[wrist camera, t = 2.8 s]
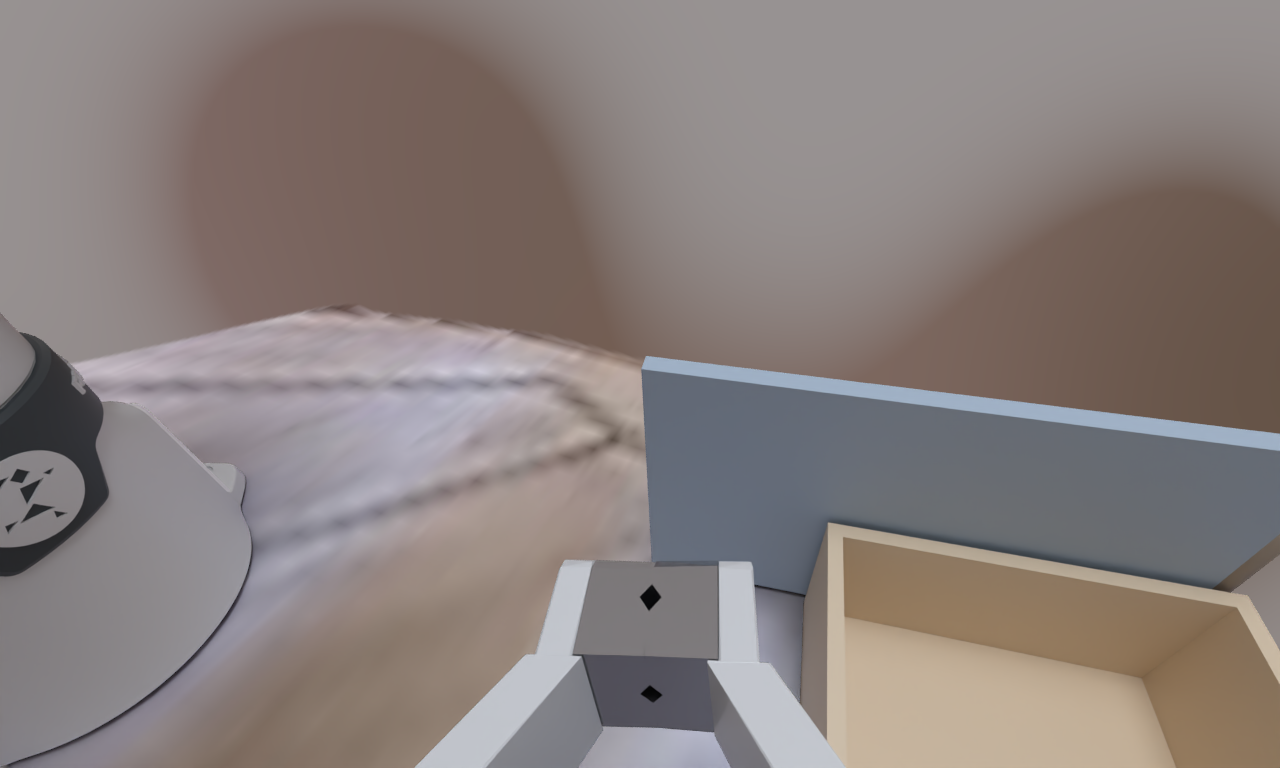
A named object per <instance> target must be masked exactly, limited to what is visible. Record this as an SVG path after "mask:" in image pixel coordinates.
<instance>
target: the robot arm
mask: <svg viewBox="0 0 1280 768" xmlns="http://www.w3.org/2000/svg"><path fill="white" fill-rule="evenodd" d="M83 380H84V379H83V377H82V376H81V375H80V374H79V372H78V371H77V370H76V369H75V368H74V367H73V366H72V365H71V364H70V363H69V362H68V361H67V360H66V359H64V358H63V357H62V356H60V355H58V354H56V353H55V352H54V351H53V350H52V349H51V348H50V347H49V346H48V345H46V343H44V342H43V341H42V340H40V339H39V338H37V337H35V336H32V335H29V334H26V333H21V332H18V331H17V330H16V329H15V328H14V327H13V326H12V325H11V324H10V323H9V321H8V320H7V319H6V318H5V317H4V316H3V315H2V314H1V313H0V767H2V766H5V765H7V764H10V763H12V762H15V761H18V760H21V759H24V758H27V757H30V756H33V755H36V754H38V753H41V752H44V751H47V750H50V749H53V748H55V747H58V746H60V745H63V744H65V743H67V742H69V741H72V740H74V739H76V738H78V737H80V736H82V735H84V734H86V733H88V732H90V731H92V730H94V729H96V728H98V727H99V726H101V725H103V724H105V723H106V722H108V721H110V720H111V719H113V718H115V717H116V716H118V715H120V714H121V713H123V712H124V711H126V710H127V709H129V708H130V707H132V706H133V705H135V704H136V703H137V702H139V701H140V700H141V699H143V698H144V697H146V696H147V695H148V694H150V693H151V692H152V691H153V690H155V689H156V688H157V687H158V686H160V685H161V684H162V683H163V682H164V681H166V680H167V679H168V678H169V677H170V676H171V675H173V674H174V673H175V672H176V671H177V670H178V669H179V668H180V667H181V666H182V665H183V664H184V663H185V662H186V661H187V660H188V659H189V658H190V657H191V656H192V655H193V654H194V653H195V652H196V651H197V650H198V649H199V648H200V647H201V646H202V645H203V643H204V642H205V641H206V640H207V639H208V638H209V636H210V635H211V634H212V633H213V631H214V630H215V629H216V628H217V626H218V625H219V624H220V622H221V621H222V619H223V618H224V617H225V615H226V614H227V612H228V610H229V609H230V607H231V606H232V604H233V602H234V600H235V599H236V597H237V595H238V593H239V591H240V589H241V587H242V584H243V582H244V579H245V577H246V574H247V571H248V567H249V563H250V557H251V536H250V531H249V528H248V525H247V523H246V521H245V519H244V517H243V514H242V511H241V501H242V497H243V493H244V489H245V480H246V479H245V476H244V474H243V473H242V472H241V471H240V470H239V469H238V468H237V467H236V466H234V465H232V464H229V463H202V462H201V461H200V460H199V459H198V458H197V457H196V456H195V455H194V454H193V453H192V452H191V451H190V450H189V449H188V448H187V447H186V446H185V445H184V444H183V443H182V442H181V441H180V440H179V439H178V438H177V437H176V436H175V435H174V434H173V433H172V432H171V431H170V430H169V429H168V428H166V427H165V426H164V425H163V424H162V423H161V422H160V421H159V420H158V419H157V418H156V417H155V416H154V415H153V414H152V413H151V412H150V411H149V410H147V409H146V408H145V407H143V406H141V405H139V404H137V403H131V404H126V403H122V402H113V401H108V402H101V401H100V399H99V398H98V396H97V395H96V394H95V393H94V392H93V391H92V390H91V389H90V388H89V387H88V386H87V385H86V384H85V382H84V381H83ZM602 726H611V727H651V728H668V729H680V730H692V731H704V732H714V734H715V737H716V739H717V741H718V743H719V745H720V747H721V749H722V751H723V753H724V755H725V757H726V759H727V761H728V763H729V765H730V767H731V768H846V767H845V765H844V764H843V763H842V761H841V760H840V758H839V757H838V756H837V754H836V753H835V752H834V750H833V749H832V747H831V746H830V745H829V743H828V742H827V740H826V739H825V738H824V736H823V735H822V734H821V732H820V731H819V729H818V728H817V727H816V725H815V724H814V723H813V721H812V720H811V718H810V717H809V716H808V714H807V713H806V712H805V710H804V709H803V707H802V706H801V705H800V703H799V702H798V700H797V699H796V698H795V696H794V695H793V694H792V692H791V691H790V689H789V688H788V687H787V685H786V684H785V683H784V681H783V680H782V678H781V677H780V676H779V674H778V673H777V671H776V670H775V669H774V667H773V666H772V665H771V663H766V662H760V659H759V645H758V630H757V616H756V602H755V588H754V574H753V566H752V562H734V561H719V564H718V561H656V562H634V561H605V560H565V561H564V562H563V564H562V566H561V567H560V569H559V572H558V576H557V579H556V583H555V586H554V590H553V593H552V597H551V600H550V604H549V607H548V611H547V614H546V618H545V621H544V625H543V628H542V632H541V635H540V639H539V642H538V646H537V649H536V653H535V654H525V655H524V656H523V657H522V659H521V660H520V661H519V662H518V663H517V664H516V665H515V666H514V667H513V668H512V669H511V670H510V671H509V672H508V673H507V674H506V675H505V676H504V677H503V678H502V679H501V680H500V681H499V682H498V683H497V684H496V685H495V686H494V687H493V688H492V689H491V690H490V691H489V692H488V693H487V694H486V695H485V696H484V697H483V698H482V699H481V700H480V701H479V702H478V703H477V704H476V705H475V706H474V707H473V708H472V709H471V711H470V712H469V713H468V714H467V715H466V716H465V717H464V718H463V719H462V720H461V721H460V722H459V723H458V724H457V725H456V726H455V727H454V728H453V729H452V730H451V731H450V732H449V733H448V734H447V735H446V736H445V737H444V738H443V739H442V740H441V741H440V742H439V743H438V744H437V745H436V746H435V747H434V748H433V749H432V750H431V751H430V752H429V753H428V754H427V755H426V756H425V757H424V758H423V759H422V760H421V761H420V763H419V764H418V765H417V766H416V767H415V768H578V767H579V765H580V764H581V762H582V761H583V759H584V758H585V756H586V755H587V753H588V752H589V750H590V749H591V748H592V746H593V745H594V743H595V742H596V740H597V739H598V737H599V736H600V734H601V733H602V731H603V728H602Z"/></svg>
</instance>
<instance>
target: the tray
mask: <svg viewBox="0 0 1280 768" xmlns="http://www.w3.org/2000/svg"><path fill="white" fill-rule="evenodd" d="M800 705H801V706H802V707H803V709H804V710H805V712H806V713H807V714H808V716H809V717H810V718H811V720H812V721H813V723H814V724H815V725H816V727H817V728H818V729H819V731H820V732H821V734H822V735H823V736H824V738H825V739H826V740H827V742H828V743H829V745H830V746H831V747H832V749H833V750H834V752H835V753H836V754H837V756H838V757H839V758H840V760H841V761H842V763H843V764H844V765H845V767H846V768H1280V650H1279V648H1278V647H1277V645H1276V643H1275V642H1274V640H1273V638H1272V636H1271V635H1270V633H1269V632H1268V630H1267V628H1266V626H1265V625H1264V623H1263V621H1262V619H1261V617H1260V616H1259V614H1258V612H1257V611H1256V609H1255V607H1254V606H1253V604H1252V602H1251V600H1250V598H1249V597H1248V596H1247V595H1241V594H1235V593H1229V592H1224V591H1218V590H1212V589H1207V588H1201V587H1195V586H1189V585H1184V584H1178V583H1172V582H1167V581H1161V580H1155V579H1149V578H1144V577H1138V576H1132V575H1127V574H1121V573H1115V572H1109V571H1104V570H1098V569H1092V568H1087V567H1081V566H1075V565H1069V564H1064V563H1058V562H1052V561H1046V560H1041V559H1035V558H1029V557H1024V556H1018V555H1012V554H1006V553H1001V552H995V551H989V550H984V549H978V548H972V547H966V546H961V545H955V544H949V543H944V542H938V541H932V540H926V539H921V538H915V537H909V536H903V535H898V534H892V533H886V532H881V531H875V530H869V529H863V528H858V527H852V526H846V525H841V524H835V523H829V522H828V524H827V527H826V531H825V534H824V537H823V541H822V544H821V547H820V550H819V554H818V557H817V560H816V564H815V567H814V570H813V574H812V577H811V580H810V584H809V587H808V590H807V594H806V597H805V600H804V608H803V635H802V662H801V688H800Z"/></svg>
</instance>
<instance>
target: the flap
mask: <svg viewBox="0 0 1280 768" xmlns="http://www.w3.org/2000/svg"><path fill="white" fill-rule="evenodd" d="M641 371H642V389H643V407H644V426H645V444H646V462H647V480H648V499H649V517H650V535H651V554H652V562H656V561H718V564H719V561H734V562H752V566H753V574H754V584H755V585H760V586H765V587H770V588H775V589H780V590H785V591H789V592H794V593H799V594H804V595H806V594H807V590H808V587H809V584H810V580H811V577H812V574H813V570H814V567H815V564H816V560H817V557H818V554H819V550H820V547H821V544H822V541H823V537H824V534H825V531H826V527H827V524H828V522H829V523H835V524H841V525H846V526H852V527H858V528H863V529H869V530H875V531H881V532H886V533H892V534H898V535H903V536H909V537H915V538H921V539H926V540H932V541H938V542H944V543H949V544H955V545H961V546H966V547H972V548H978V549H984V550H989V551H995V552H1001V553H1006V554H1012V555H1018V556H1024V557H1029V558H1035V559H1041V560H1046V561H1052V562H1058V563H1064V564H1069V565H1075V566H1081V567H1087V568H1092V569H1098V570H1104V571H1109V572H1115V573H1121V574H1127V575H1132V576H1138V577H1144V578H1149V579H1155V580H1161V581H1167V582H1172V583H1178V584H1184V585H1189V586H1195V587H1201V588H1207V589H1212V590H1218V591H1224V592H1229V593H1231V592H1232V591H1233V590H1234V589H1235V588H1237V587H1238V586H1240V585H1241V584H1242V583H1243V582H1245V581H1246V580H1247V579H1249V578H1250V577H1251V576H1252V575H1254V574H1255V573H1256V572H1258V571H1259V570H1260V569H1261V568H1263V567H1264V566H1265V565H1267V564H1268V563H1269V562H1270V561H1272V560H1273V559H1274V558H1275V557H1277V556H1278V555H1279V554H1280V434H1275V433H1268V432H1260V431H1251V430H1243V429H1235V428H1227V427H1219V426H1210V425H1203V424H1195V423H1187V422H1177V421H1170V420H1162V419H1153V418H1146V417H1138V416H1130V415H1122V414H1113V413H1105V412H1097V411H1089V410H1080V409H1072V408H1065V407H1056V406H1048V405H1040V404H1032V403H1024V402H1015V401H1008V400H1000V399H991V398H983V397H975V396H967V395H958V394H950V393H943V392H934V391H926V390H918V389H910V388H902V387H894V386H886V385H878V384H869V383H861V382H853V381H845V380H836V379H829V378H821V377H812V376H803V375H796V374H788V373H780V372H771V371H764V370H756V369H747V368H739V367H731V366H723V365H714V364H707V363H698V362H690V361H681V360H674V359H666V358H658V357H650V356H646V359H645V361H644V364H643V366H642V369H641Z"/></svg>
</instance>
